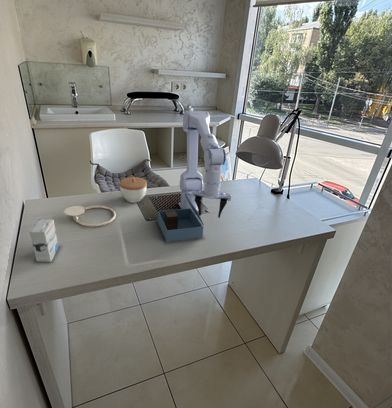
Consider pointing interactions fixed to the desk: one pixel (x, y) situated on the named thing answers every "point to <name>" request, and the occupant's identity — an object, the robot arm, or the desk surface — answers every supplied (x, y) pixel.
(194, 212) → the flap
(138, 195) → the lidded bowl
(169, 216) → the walnut block
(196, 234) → the carton
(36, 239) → the ink box
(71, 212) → the hand towel holder
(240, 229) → the desk surface
